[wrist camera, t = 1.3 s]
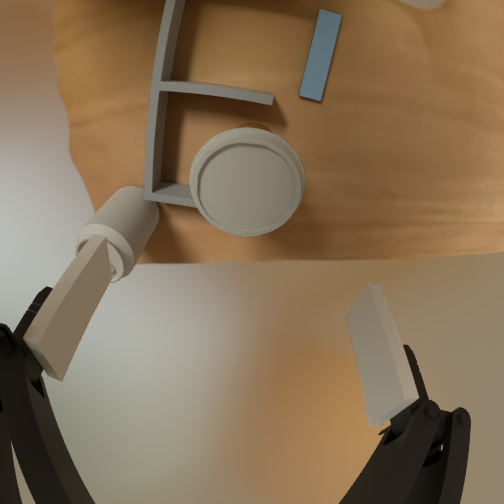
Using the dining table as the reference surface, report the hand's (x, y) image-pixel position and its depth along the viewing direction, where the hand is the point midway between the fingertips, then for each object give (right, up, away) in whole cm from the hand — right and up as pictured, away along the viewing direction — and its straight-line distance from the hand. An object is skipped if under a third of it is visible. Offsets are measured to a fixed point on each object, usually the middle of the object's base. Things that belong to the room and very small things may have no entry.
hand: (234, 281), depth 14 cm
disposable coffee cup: (+1, +13, +18) cm, 22 cm away
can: (-15, +7, +23) cm, 28 cm away
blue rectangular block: (+8, +23, +11) cm, 26 cm away
